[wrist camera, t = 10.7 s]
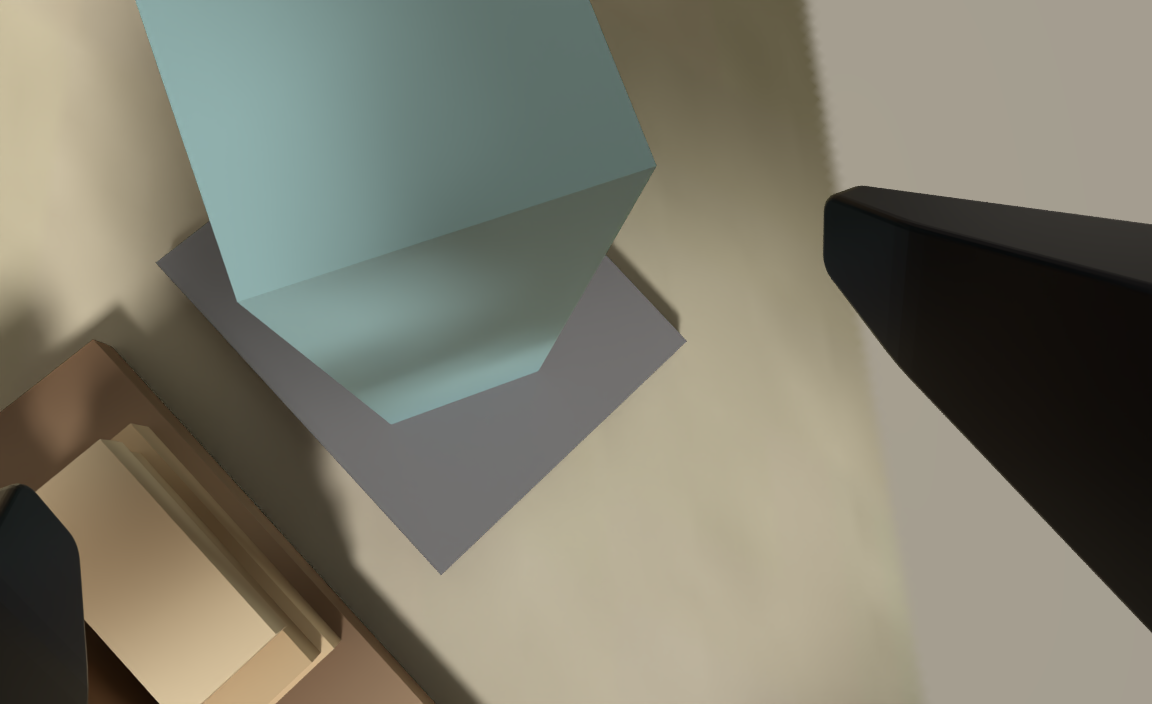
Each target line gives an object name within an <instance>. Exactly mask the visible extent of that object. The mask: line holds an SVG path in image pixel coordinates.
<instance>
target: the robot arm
mask: <svg viewBox="0 0 1152 704" xmlns="http://www.w3.org/2000/svg"><path fill="white" fill-rule="evenodd" d="M823 258H824V264H825V267H826V270H827V272H828V274H829V276H830V277H831V279H832V280H833V282H834V283H835V284H836V285H837V287H838V288H839V289H840V291H841V292H842V293H843V295H844V296H845V297H846V299H847V300H848V301H849V303H850V304H851V305H852V307H853V308H854V309H855V311H856V312H857V313H858V315H859V316H860V317H861V319H862V320H863V321H864V323H865V324H866V325H867V326H868V328H869V329H870V330H871V332H872V333H873V334H874V336H875V337H876V338H877V340H878V341H879V342H880V344H881V345H882V346H883V348H884V349H885V350H886V352H887V353H888V354H889V355H890V356H891V358H892V359H893V360H894V361H895V363H897V365H898V366H899V367H900V368H901V369H902V371H903V372H904V373H905V374H906V375H907V376H908V377H909V378H910V379H911V380H912V382H913V383H914V384H915V385H916V386H917V387H918V388H919V389H920V390H921V391H922V392H923V393H924V394H925V395H926V396H927V397H928V398H929V399H930V400H931V401H932V403H933V404H934V405H935V406H936V407H937V408H938V409H939V410H940V411H941V412H942V413H943V414H944V415H945V416H946V417H947V418H948V419H949V420H950V421H951V423H952V424H953V425H954V426H955V427H956V428H957V429H958V430H959V431H960V432H961V433H962V434H963V435H964V436H965V437H966V438H967V439H968V440H969V441H970V442H971V443H972V445H974V447H975V448H976V449H977V450H978V451H979V452H980V453H981V454H982V455H983V456H984V457H985V458H986V459H987V460H988V461H989V462H990V463H991V465H992V466H993V467H994V468H995V469H996V470H997V471H998V472H999V473H1000V474H1001V475H1002V476H1003V477H1004V478H1005V479H1006V480H1007V481H1008V482H1009V483H1010V484H1011V485H1012V487H1013V488H1014V489H1015V490H1016V491H1017V492H1018V493H1019V494H1020V495H1021V496H1022V497H1023V498H1024V499H1025V500H1026V501H1027V502H1028V503H1029V504H1030V505H1031V506H1032V507H1033V509H1034V510H1035V511H1036V512H1038V514H1039V515H1040V516H1041V517H1042V518H1043V519H1044V520H1045V521H1046V522H1047V523H1048V524H1049V525H1050V526H1051V527H1052V529H1054V531H1055V532H1056V533H1057V534H1058V535H1059V536H1060V537H1061V538H1062V539H1063V540H1064V541H1065V542H1066V543H1067V544H1068V545H1069V546H1070V547H1071V548H1072V550H1073V551H1074V552H1075V553H1077V555H1078V556H1079V557H1080V558H1081V559H1082V560H1083V561H1084V562H1085V563H1086V564H1087V565H1088V566H1089V567H1090V568H1091V569H1092V571H1093V572H1095V574H1096V575H1097V576H1098V577H1099V578H1100V579H1101V580H1102V581H1103V582H1104V583H1105V584H1106V585H1107V586H1108V587H1109V588H1110V589H1111V590H1112V591H1113V593H1114V594H1115V595H1116V596H1117V597H1118V598H1119V599H1120V600H1121V601H1122V602H1123V603H1124V604H1125V605H1126V606H1127V607H1128V608H1129V609H1130V610H1131V611H1132V612H1133V614H1134V615H1135V616H1136V617H1137V618H1138V619H1139V620H1140V621H1141V622H1142V623H1143V624H1144V625H1145V626H1146V627H1147V628H1148V629H1149V630H1150V631H1151V632H1152V224H1144V223H1137V222H1129V221H1122V220H1114V219H1107V218H1099V217H1093V216H1084V215H1078V214H1070V213H1063V212H1054V211H1048V210H1040V209H1032V208H1025V207H1018V206H1010V205H1002V204H995V203H988V202H981V201H973V200H966V199H958V198H951V197H943V196H936V195H928V194H921V193H913V192H906V191H898V190H891V189H884V188H876V187H869V186H857V187H853V188H850V189H847V190H845V191H842V192H839V193H836V194H834V195H831V196H830V197H829V198H828V199H827V201H826V203H825V206H824V235H823ZM88 691H89V687H88V663H87V649H86V635H85V622H84V608H83V594H82V580H81V567H80V556H79V551H78V547H77V544H76V542H75V540H74V538H73V536H72V535H71V533H70V532H69V531H68V530H67V528H66V527H65V526H64V525H63V524H62V523H61V521H60V520H59V519H58V518H57V517H56V516H55V514H54V513H53V512H52V511H51V510H50V508H49V507H48V506H47V505H46V504H45V503H44V501H43V500H42V499H41V498H40V497H39V496H38V494H37V493H36V492H35V491H34V490H33V489H32V488H30V487H29V486H27V485H25V484H19V483H16V484H12V485H9V486H6V487H3V488H0V704H88Z"/></svg>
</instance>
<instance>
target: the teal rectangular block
mask: <svg viewBox="0 0 1152 704" xmlns="http://www.w3.org/2000/svg"><path fill="white" fill-rule="evenodd" d="M135 1H136V4H137V7H138V10H139V13H140V15H141V18H142V21H143V24H144V27H145V30H146V33H147V36H148V39H149V42H150V45H151V48H152V51H153V54H154V57H155V60H156V63H157V66H158V69H159V72H160V75H161V78H162V81H163V84H164V87H165V90H166V92H167V95H168V98H169V101H170V104H171V107H172V110H173V113H174V116H175V119H176V122H177V125H178V128H179V131H180V134H181V137H182V140H183V143H184V146H185V149H186V152H187V155H188V158H189V161H190V164H191V167H192V169H193V172H194V175H195V178H196V181H197V184H198V187H199V190H200V193H201V196H202V199H203V202H204V205H205V208H206V211H207V214H208V217H209V220H210V223H211V226H212V229H213V232H214V235H215V238H216V241H217V244H218V246H219V249H220V252H221V255H222V258H223V261H224V264H225V267H226V270H227V273H228V276H229V279H230V282H231V285H232V288H233V291H234V294H235V297H236V300H237V302H238V303H239V304H240V305H242V306H243V307H244V308H245V309H247V310H248V311H249V312H250V313H252V314H253V315H254V316H255V317H257V318H258V319H259V320H260V321H262V322H263V323H264V324H265V325H267V326H268V327H269V328H270V329H272V330H273V331H274V332H275V333H277V334H278V335H279V336H280V337H282V338H283V339H284V340H285V341H287V342H288V343H289V344H291V345H292V346H293V347H294V348H296V349H297V350H298V351H299V352H301V353H302V354H303V355H304V356H306V357H307V358H308V359H309V360H311V361H312V362H313V363H314V364H316V365H317V366H318V367H319V368H321V369H322V370H323V371H324V372H326V373H327V374H328V375H329V376H331V377H332V378H333V379H334V380H336V381H337V382H338V383H340V384H341V385H342V386H343V387H345V388H346V389H347V390H348V391H350V392H351V393H352V394H353V395H355V396H356V397H357V398H358V399H360V400H361V401H362V402H363V403H365V404H366V405H367V406H368V407H370V408H371V409H372V410H373V411H375V412H376V413H377V414H378V415H380V416H381V417H382V418H383V419H385V420H386V421H387V422H388V423H390V424H394V423H397V422H399V421H402V420H405V419H408V418H411V417H413V416H416V415H419V414H422V413H424V412H427V411H430V410H433V409H435V408H438V407H441V406H444V405H446V404H449V403H452V402H455V401H457V400H460V399H463V398H466V397H468V396H471V395H474V394H477V393H479V392H482V391H485V390H488V389H490V388H493V387H496V386H499V385H501V384H504V383H507V382H510V381H512V380H515V379H518V378H521V377H524V376H526V375H529V374H532V373H535V372H537V371H539V369H540V367H541V366H542V364H543V362H544V360H545V359H546V357H547V355H548V354H549V352H550V350H551V348H552V347H553V345H554V343H555V341H556V340H557V338H558V336H559V334H560V333H561V331H562V329H563V327H564V326H565V324H566V322H567V321H568V319H569V317H570V315H571V314H572V312H573V310H574V308H575V307H576V305H577V303H578V301H579V300H580V298H581V296H582V295H583V293H584V291H585V289H586V288H587V286H588V284H589V282H590V281H591V279H592V277H593V275H594V274H595V272H596V270H597V268H598V267H599V265H600V263H601V262H602V260H603V258H604V256H605V255H606V253H607V251H608V249H609V248H610V246H611V244H612V242H613V241H614V239H615V237H616V235H617V234H618V232H619V230H620V229H621V227H622V225H623V223H624V222H625V220H626V218H627V216H628V215H629V213H630V211H631V209H632V208H633V206H634V204H635V203H636V201H637V199H638V197H639V196H640V194H641V192H642V190H643V189H644V187H645V185H646V183H647V182H648V180H649V178H650V176H651V175H652V173H653V171H654V170H655V168H656V163H655V161H654V158H653V156H652V153H651V151H650V148H649V146H648V143H647V141H646V139H645V136H644V134H643V131H642V129H641V126H640V124H639V121H638V119H637V116H636V114H635V111H634V109H633V107H632V104H631V102H630V99H629V97H628V94H627V92H626V89H625V87H624V84H623V82H622V79H621V77H620V74H619V72H618V70H617V67H616V65H615V62H614V60H613V57H612V55H611V52H610V50H609V47H608V45H607V42H606V40H605V38H604V35H603V33H602V30H601V28H600V25H599V23H598V20H597V18H596V15H595V13H594V10H593V8H592V5H591V3H590V1H589V0H135Z"/></svg>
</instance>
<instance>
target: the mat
mask: <svg viewBox="0 0 1152 704" xmlns="http://www.w3.org/2000/svg"><path fill="white" fill-rule="evenodd" d="M156 264H157V265H158V266H159V267H160V268H161V269H162V270H163V271H164V272H165V273H166V275H167V276H168V277H169V278H170V279H171V280H172V281H173V282H174V283H175V284H176V286H177V287H178V288H179V289H180V290H181V291H182V292H183V293H184V294H185V295H186V296H187V298H188V299H189V300H190V301H191V302H192V303H193V304H194V305H195V306H196V307H197V308H198V310H199V311H200V312H201V313H202V314H203V315H204V316H205V317H206V318H207V319H208V321H209V322H210V323H211V324H212V325H213V326H214V327H215V328H216V329H217V330H218V331H219V333H220V334H221V335H222V336H223V337H224V338H225V339H226V340H227V341H228V342H229V344H230V345H231V346H232V347H233V348H234V349H235V350H236V351H237V352H238V353H239V354H240V356H241V357H242V358H243V359H244V360H245V361H246V362H247V363H248V364H249V365H250V367H251V368H252V369H253V370H254V371H255V372H256V373H257V374H258V375H259V376H260V377H261V379H262V380H263V381H264V382H265V383H266V384H267V385H268V386H269V387H270V388H271V389H272V391H273V392H274V393H275V394H276V395H277V396H278V397H279V398H280V399H281V400H282V402H283V403H284V404H285V405H286V406H287V407H288V408H289V409H290V410H291V411H292V412H293V414H294V415H295V416H296V417H297V418H298V419H299V420H300V421H301V422H302V423H303V425H304V426H305V427H306V428H307V429H308V430H309V431H310V432H311V433H312V434H313V435H314V437H315V438H316V439H317V440H318V441H319V442H320V443H321V444H322V445H323V446H324V447H325V449H326V450H327V451H328V452H329V453H330V454H331V455H332V456H333V457H334V458H335V460H336V461H337V462H338V463H339V464H340V465H341V466H342V467H343V468H344V469H345V470H346V472H347V473H348V474H349V475H350V476H351V477H352V478H353V479H354V480H355V481H356V483H357V484H358V485H359V486H360V487H361V488H362V489H363V490H364V491H365V492H366V493H367V495H368V496H369V497H370V498H371V499H372V500H373V501H374V502H375V503H376V504H377V506H378V507H379V508H380V509H381V510H382V511H383V512H384V513H385V514H386V515H387V516H388V518H389V519H390V520H391V521H392V522H393V523H394V524H395V525H396V526H397V527H398V528H399V530H400V531H401V532H402V533H403V534H404V535H405V536H406V537H407V538H408V539H409V541H410V542H411V543H412V544H413V545H414V546H415V547H416V548H417V549H418V550H419V551H420V553H421V554H422V555H423V556H424V557H425V558H426V559H427V560H428V561H429V562H430V564H431V565H432V566H433V567H434V568H435V569H436V570H437V571H438V572H439V573H440V574H441V575H442V574H443V573H444V572H445V571H446V570H447V569H448V568H449V567H450V566H451V565H452V564H453V563H454V562H455V561H456V560H458V559H459V558H460V557H461V556H462V555H463V554H464V553H465V552H466V551H467V550H468V549H469V548H470V547H471V546H472V545H473V544H474V543H475V542H476V541H477V540H479V539H480V538H481V537H482V536H483V535H484V534H485V533H486V532H487V531H488V530H489V529H490V528H491V527H492V526H493V525H494V524H495V523H496V522H497V521H498V520H500V519H501V518H502V517H503V516H504V515H505V514H506V513H507V512H508V511H509V510H510V509H511V508H512V507H513V506H514V505H515V504H516V503H517V502H518V501H519V500H521V499H522V498H523V497H524V496H525V495H526V494H527V493H528V492H529V491H530V490H531V489H532V488H533V487H534V486H535V485H536V484H537V483H538V482H539V481H540V480H542V479H543V478H544V477H545V476H546V475H547V474H548V473H549V472H550V471H551V470H552V469H553V468H554V467H555V466H556V465H557V464H558V463H559V462H560V461H561V460H563V459H564V458H565V457H566V456H567V455H568V454H569V453H570V452H571V451H572V450H573V449H574V448H575V447H576V446H577V445H578V444H579V443H580V442H581V441H582V440H584V439H585V438H586V437H587V436H588V435H589V434H590V433H591V432H592V431H593V430H594V429H595V428H596V427H597V426H598V425H599V424H600V423H601V422H602V421H603V420H605V419H606V418H607V417H608V416H609V415H610V414H611V413H612V412H613V411H614V410H615V409H616V408H617V407H618V406H619V405H620V404H621V403H622V402H623V401H624V400H626V399H627V398H628V397H629V396H630V395H631V394H632V393H633V392H634V391H635V390H636V389H637V388H638V387H639V386H640V385H641V384H642V383H643V382H644V381H645V380H647V379H648V378H649V377H650V376H651V375H652V374H653V373H654V372H655V371H656V370H657V369H658V368H659V367H660V366H661V365H662V364H663V363H664V362H665V361H667V360H668V359H669V358H670V357H671V356H672V355H673V354H674V353H675V352H676V351H677V350H678V349H679V348H680V347H681V346H682V345H683V344H684V343H685V342H686V340H685V339H684V338H683V336H682V335H681V334H680V333H679V332H678V331H677V330H676V329H675V328H674V327H673V326H672V325H671V324H670V323H669V322H668V320H667V319H666V318H665V317H664V316H663V315H662V314H661V313H660V312H659V311H658V310H657V309H656V308H655V307H654V306H653V305H652V303H651V302H650V301H649V300H648V299H647V298H646V297H645V296H644V295H643V294H642V293H641V292H640V291H639V290H638V289H637V287H636V286H635V285H634V284H633V283H632V282H631V281H630V280H629V279H628V278H627V277H626V276H625V275H624V274H623V273H622V272H621V270H620V269H619V268H618V267H617V266H616V265H615V264H614V263H613V262H612V261H611V260H610V259H609V258H608V257H607V256H606V255H605V256H604V258H603V260H602V262H601V263H600V265H599V267H598V268H597V270H596V272H595V274H594V275H593V277H592V279H591V281H590V282H589V284H588V286H587V288H586V289H585V291H584V293H583V295H582V296H581V298H580V300H579V301H578V303H577V305H576V307H575V308H574V310H573V312H572V314H571V315H570V317H569V319H568V321H567V322H566V324H565V326H564V327H563V329H562V331H561V333H560V334H559V336H558V338H557V340H556V341H555V343H554V345H553V347H552V348H551V350H550V352H549V354H548V355H547V357H546V359H545V360H544V362H543V364H542V366H541V367H540V369H539V371H537V372H535V373H532V374H529V375H526V376H524V377H521V378H518V379H515V380H512V381H510V382H507V383H504V384H501V385H499V386H496V387H493V388H490V389H488V390H485V391H482V392H479V393H477V394H474V395H471V396H468V397H466V398H463V399H460V400H457V401H455V402H452V403H449V404H446V405H444V406H441V407H438V408H435V409H433V410H430V411H427V412H424V413H422V414H419V415H416V416H413V417H411V418H408V419H405V420H402V421H399V422H397V423H394V424H390V423H388V422H387V421H386V420H385V419H383V418H382V417H381V416H380V415H378V414H377V413H376V412H375V411H373V410H372V409H371V408H370V407H368V406H367V405H366V404H365V403H363V402H362V401H361V400H360V399H358V398H357V397H356V396H355V395H353V394H352V393H351V392H350V391H348V390H347V389H346V388H345V387H343V386H342V385H341V384H340V383H338V382H337V381H336V380H334V379H333V378H332V377H331V376H329V375H328V374H327V373H326V372H324V371H323V370H322V369H321V368H319V367H318V366H317V365H316V364H314V363H313V362H312V361H311V360H309V359H308V358H307V357H306V356H304V355H303V354H302V353H301V352H299V351H298V350H297V349H296V348H294V347H293V346H292V345H291V344H289V343H288V342H287V341H285V340H284V339H283V338H282V337H280V336H279V335H278V334H277V333H275V332H274V331H273V330H272V329H270V328H269V327H268V326H267V325H265V324H264V323H263V322H262V321H260V320H259V319H258V318H257V317H255V316H254V315H253V314H252V313H250V312H249V311H248V310H247V309H245V308H244V307H243V306H242V305H240V304H239V303H238V302H237V300H236V297H235V294H234V291H233V288H232V285H231V282H230V279H229V276H228V273H227V270H226V267H225V264H224V261H223V258H222V255H221V252H220V249H219V246H218V244H217V241H216V238H215V235H214V232H213V229H212V226H211V223H210V221H209V222H207V223H206V224H205V225H204V226H202V227H201V228H200V229H198V230H197V231H196V232H195V233H193V234H192V235H191V236H189V237H188V238H187V239H186V240H184V241H183V242H182V243H180V244H179V245H178V246H177V247H175V248H174V249H173V250H171V251H170V252H169V253H168V254H166V255H165V256H164V257H162V258H161V259H160V260H159V261H157V262H156Z"/></svg>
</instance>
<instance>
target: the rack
mask: <svg viewBox="0 0 1152 704" xmlns="http://www.w3.org/2000/svg"><path fill="white" fill-rule="evenodd" d="M16 483H19V484H25V485H27V486H29V487H30V488H32V489H33V490H34V491H35V492H36V493H37V494H38V496H39V497H40V498H41V499H42V500H43V501H44V503H45V504H46V505H47V506H48V507H49V508H50V510H51V511H52V512H53V513H54V514H55V516H56V517H57V518H58V519H59V520H60V521H61V523H62V524H63V525H64V526H65V527H66V528H67V530H68V531H69V532H70V533H71V535H72V536H73V538H74V540H75V542H76V544H77V547H78V551H79V556H80V567H81V580H82V594H83V608H84V622H85V635H86V649H87V663H88V687H89V691H88V704H435V703H434V701H433V700H432V699H431V698H430V697H429V696H428V695H427V694H426V693H425V692H424V690H423V689H422V688H421V687H420V686H419V685H418V684H417V683H416V682H415V680H414V679H413V678H412V677H411V676H410V675H409V674H408V673H407V672H406V671H405V669H404V668H403V667H402V666H401V665H400V664H399V663H398V662H397V661H396V660H395V658H394V657H393V656H392V655H391V654H390V653H389V652H388V651H387V650H386V649H385V647H384V646H383V645H382V644H381V643H380V642H379V641H378V640H377V639H376V637H375V636H374V635H373V634H372V633H371V632H370V631H369V630H368V629H367V628H366V626H365V625H364V624H363V623H362V622H361V621H360V620H359V619H358V618H357V617H356V615H355V614H354V613H353V612H352V611H351V610H350V609H349V608H348V607H347V605H346V604H345V603H344V602H343V601H342V600H341V599H340V598H339V597H338V596H337V594H336V593H335V592H334V591H333V590H332V589H331V588H330V587H329V586H328V585H327V583H326V582H325V581H324V580H323V579H322V578H321V577H320V576H319V575H318V574H317V572H316V571H315V570H314V569H313V568H312V567H311V566H310V565H309V564H308V562H307V561H306V560H305V559H304V558H303V557H302V556H301V555H300V554H299V553H298V551H297V550H296V549H295V548H294V547H293V546H292V545H291V544H290V543H289V542H288V540H287V539H286V538H285V537H284V536H283V535H282V534H281V533H280V532H279V531H278V529H277V528H276V527H275V526H274V525H273V524H272V523H271V522H270V521H269V519H268V518H267V517H266V516H265V515H264V514H263V513H262V512H261V511H260V510H259V508H258V507H257V506H256V505H255V504H254V503H253V502H252V501H251V500H250V499H249V497H248V496H247V495H246V494H245V493H244V492H243V491H242V490H241V489H240V488H239V486H238V485H237V484H236V483H235V482H234V481H233V480H232V479H231V478H230V476H229V475H228V474H227V473H226V472H225V471H224V470H223V469H222V468H221V467H220V465H219V464H218V463H217V462H216V461H215V460H214V459H213V458H212V457H211V456H210V454H209V453H208V452H207V451H206V450H205V449H204V448H203V447H202V446H201V444H200V443H199V442H198V441H197V440H196V439H195V438H194V437H193V436H192V435H191V433H190V432H189V431H188V430H187V429H186V428H185V427H184V426H183V425H182V424H181V422H180V421H179V420H178V419H177V418H176V417H175V416H174V415H173V414H172V413H171V411H170V410H169V409H168V408H167V407H166V406H165V405H164V404H163V403H162V401H161V400H160V399H159V398H158V397H157V396H156V395H155V394H154V393H153V392H152V390H151V389H150V388H149V387H148V386H147V385H146V384H145V383H144V382H143V381H142V379H141V378H140V377H139V376H138V375H137V374H136V373H135V372H134V371H133V370H132V368H131V367H130V366H129V365H128V364H127V363H126V362H125V361H124V360H123V358H122V357H121V356H120V355H119V354H118V353H117V352H116V351H115V350H114V349H113V347H111V346H109V345H106V344H104V343H101V342H99V341H96V340H94V339H93V340H92V341H90V342H89V343H88V344H87V345H85V346H84V347H83V348H81V349H80V350H79V351H78V352H76V353H75V354H74V355H73V356H71V357H70V358H69V359H67V360H66V361H65V362H64V363H62V364H61V365H60V366H59V367H57V368H56V369H55V370H53V371H52V372H51V373H50V374H48V375H47V376H46V377H45V378H43V379H42V380H41V381H39V382H38V383H37V384H36V385H34V386H33V387H32V388H31V389H29V390H28V391H27V392H25V393H24V394H23V395H22V396H20V397H19V398H18V399H17V400H15V401H14V402H13V403H11V404H10V405H9V406H8V407H6V408H5V409H4V410H3V411H1V412H0V488H3V487H6V486H9V485H12V484H16Z"/></svg>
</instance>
